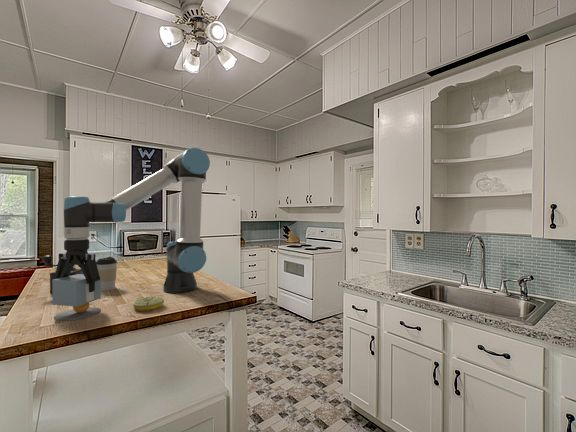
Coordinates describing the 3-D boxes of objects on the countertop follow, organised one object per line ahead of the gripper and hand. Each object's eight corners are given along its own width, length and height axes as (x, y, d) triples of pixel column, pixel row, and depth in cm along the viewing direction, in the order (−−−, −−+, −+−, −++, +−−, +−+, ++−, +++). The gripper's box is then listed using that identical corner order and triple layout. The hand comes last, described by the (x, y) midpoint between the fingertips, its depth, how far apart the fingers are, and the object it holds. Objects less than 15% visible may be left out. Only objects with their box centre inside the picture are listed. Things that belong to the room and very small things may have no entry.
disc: (109, 308, 115) (109, 308, 115) (76, 322, 101) (76, 321, 101) (79, 306, 118) (79, 306, 118) (43, 319, 104) (43, 318, 104)
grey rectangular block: (100, 298, 114) (100, 275, 114) (76, 306, 104) (76, 281, 104) (78, 296, 116) (78, 274, 116) (52, 304, 106) (52, 279, 106)
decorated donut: (150, 303, 123) (150, 294, 123) (169, 306, 118) (169, 296, 118) (127, 310, 114) (127, 300, 114) (147, 314, 109) (147, 304, 109)
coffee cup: (110, 291, 141) (109, 259, 141) (91, 291, 142) (90, 259, 141) (121, 286, 151) (120, 256, 150) (103, 286, 151) (103, 256, 151)
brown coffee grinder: (62, 287, 149) (61, 251, 149) (86, 287, 150) (85, 251, 150) (39, 296, 133) (39, 256, 133) (66, 295, 135) (66, 255, 134)
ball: (78, 310, 107) (88, 315, 111) (85, 297, 110) (95, 301, 114) (67, 309, 108) (77, 314, 112) (74, 296, 111) (84, 300, 115)
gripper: (41, 239, 108) (41, 300, 108) (94, 240, 103) (94, 304, 103) (61, 237, 116) (61, 295, 116) (111, 238, 111) (111, 298, 111)
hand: (77, 299), depth 110 cm, fingers closed on grey rectangular block, 10 cm apart
